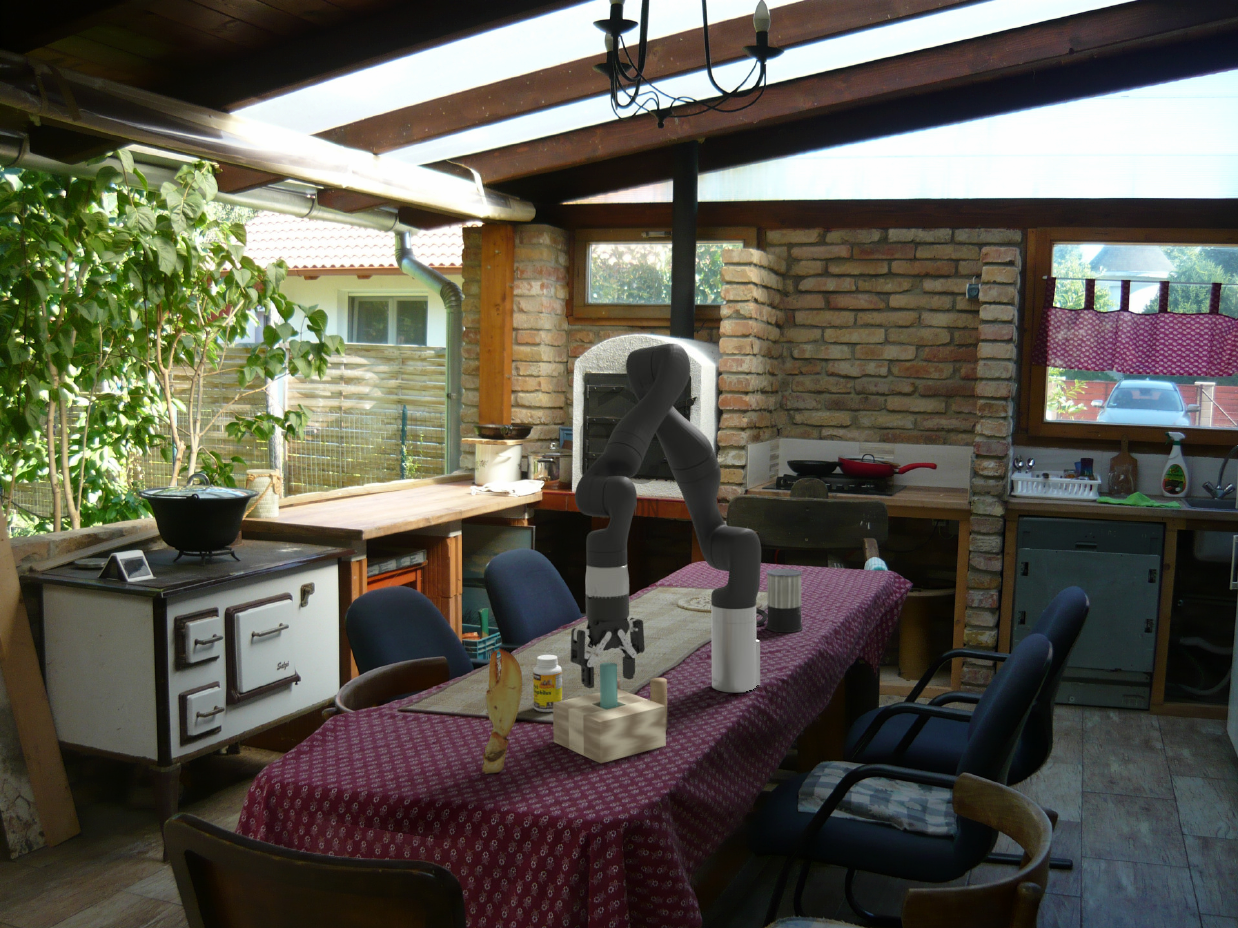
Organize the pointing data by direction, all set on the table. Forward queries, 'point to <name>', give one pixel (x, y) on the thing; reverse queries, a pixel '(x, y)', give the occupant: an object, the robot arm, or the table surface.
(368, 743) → the table surface
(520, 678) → the crab claw
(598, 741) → the hole block
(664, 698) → the medium pin
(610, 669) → the long pin
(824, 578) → the table surface
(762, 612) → the milk frother
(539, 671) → the supplement bottle
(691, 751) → the table surface
